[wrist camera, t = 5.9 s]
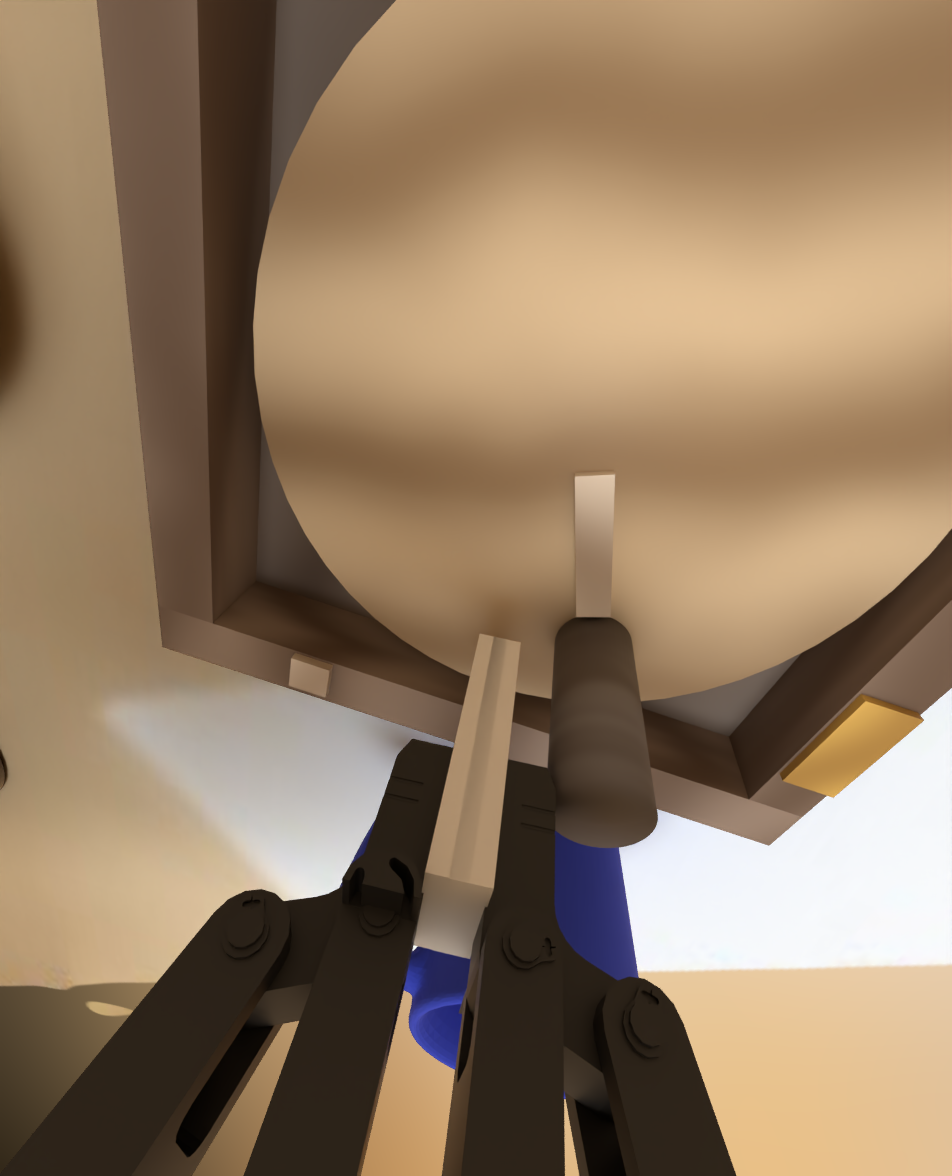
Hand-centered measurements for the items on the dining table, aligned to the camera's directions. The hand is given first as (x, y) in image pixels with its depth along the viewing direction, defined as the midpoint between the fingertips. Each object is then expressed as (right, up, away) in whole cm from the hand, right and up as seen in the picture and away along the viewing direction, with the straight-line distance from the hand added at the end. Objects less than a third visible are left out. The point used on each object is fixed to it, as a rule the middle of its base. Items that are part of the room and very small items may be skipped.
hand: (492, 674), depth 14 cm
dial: (+3, +8, +1) cm, 8 cm away
